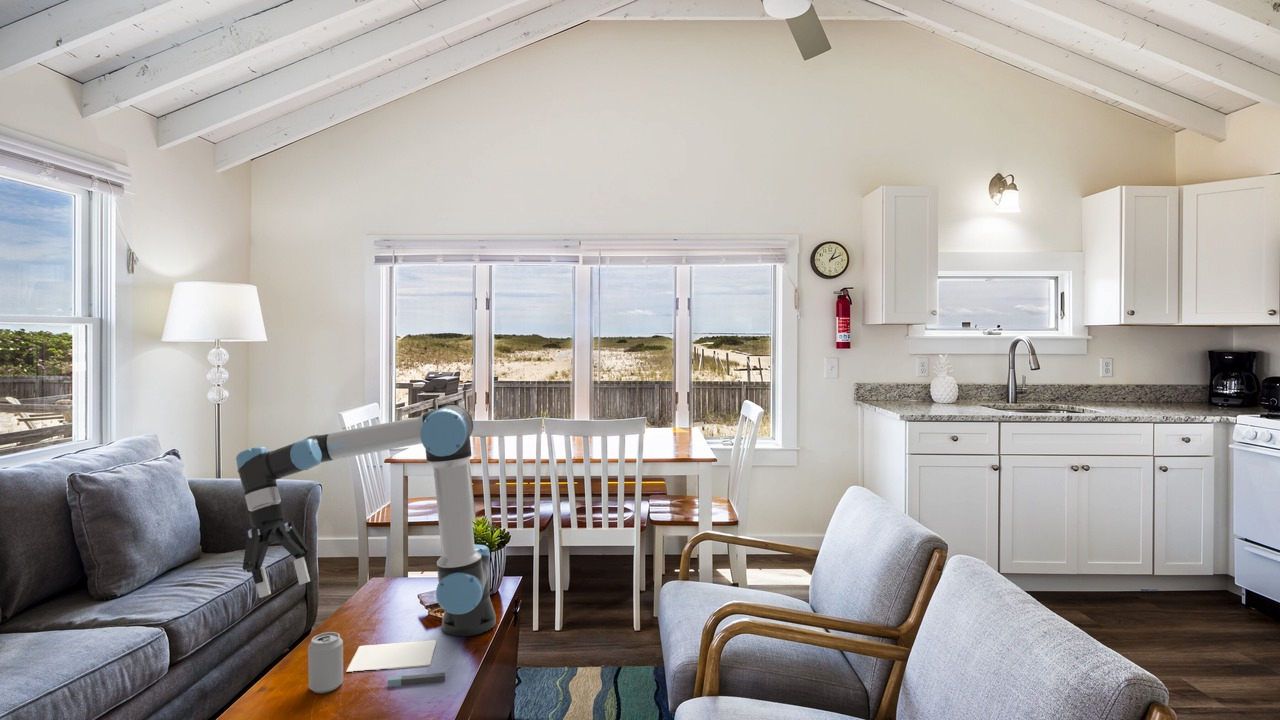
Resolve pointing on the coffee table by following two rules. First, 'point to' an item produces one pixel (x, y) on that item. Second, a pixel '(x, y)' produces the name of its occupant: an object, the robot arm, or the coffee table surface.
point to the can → (325, 662)
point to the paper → (393, 656)
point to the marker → (416, 679)
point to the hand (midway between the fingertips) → (286, 589)
